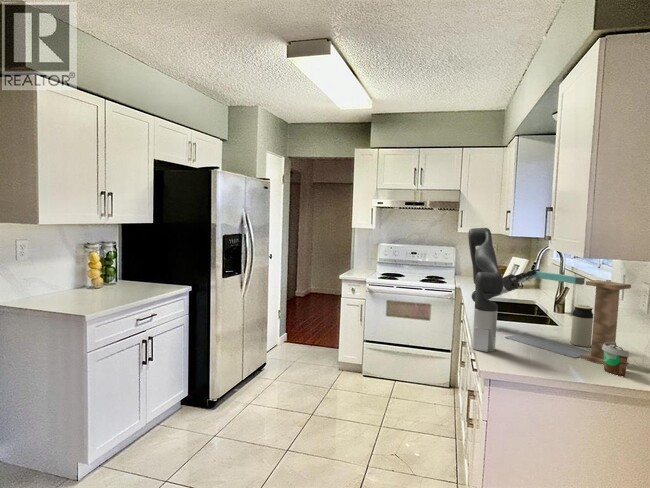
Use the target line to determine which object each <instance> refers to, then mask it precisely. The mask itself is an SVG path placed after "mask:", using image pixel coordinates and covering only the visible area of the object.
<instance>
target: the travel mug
mask: <svg viewBox="0 0 650 488" xmlns="http://www.w3.org/2000/svg"><path fill="white" fill-rule="evenodd" d="M573 306H574V310H573V311H572V318H571V333H570V344H572V345H574V346H576V347H580V348H582V347H583V348H589V347H591V346H592V333H593V320H594V312H593V310H594V307H593V306H591V305H587V304H580V303H579V304H573Z"/></svg>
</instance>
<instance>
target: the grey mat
mask: <svg viewBox="0 0 650 488" xmlns="http://www.w3.org/2000/svg"><path fill="white" fill-rule="evenodd" d="M504 338H505V339H507V340H511V341H514V342H518V343H522V344H526V345H528V346H532V347H535V348H539V349H540V350H541V349H542V350H546V351H548V352H550V353H551V352H552V353H554V354H558V355H562V356H565V357H568V358H572V359H579V358H581V355H582V354H586V353H589V352H591V350H590V349H589V350H588V349H585V348H582V347H579V346H575V345H574V346H573V345H570V344H568V343H562V342H560V341H556V340H552V339H548V338H544V337H541V336H537V335H534V334H530V333H527V332H523V333H517V334H513V335H509V336H504Z"/></svg>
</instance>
